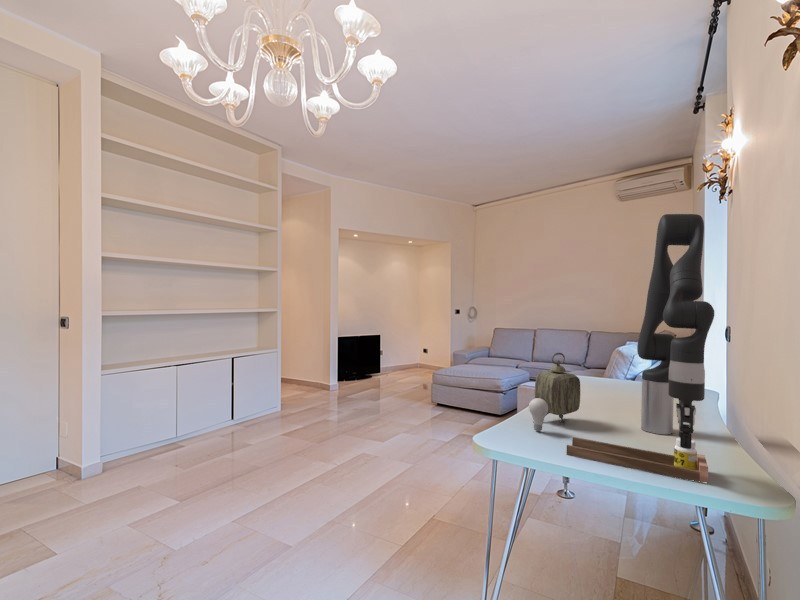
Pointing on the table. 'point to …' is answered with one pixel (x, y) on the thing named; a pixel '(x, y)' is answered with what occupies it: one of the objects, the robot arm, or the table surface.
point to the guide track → (636, 459)
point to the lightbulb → (538, 412)
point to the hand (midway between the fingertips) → (684, 443)
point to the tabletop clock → (558, 390)
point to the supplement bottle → (685, 456)
